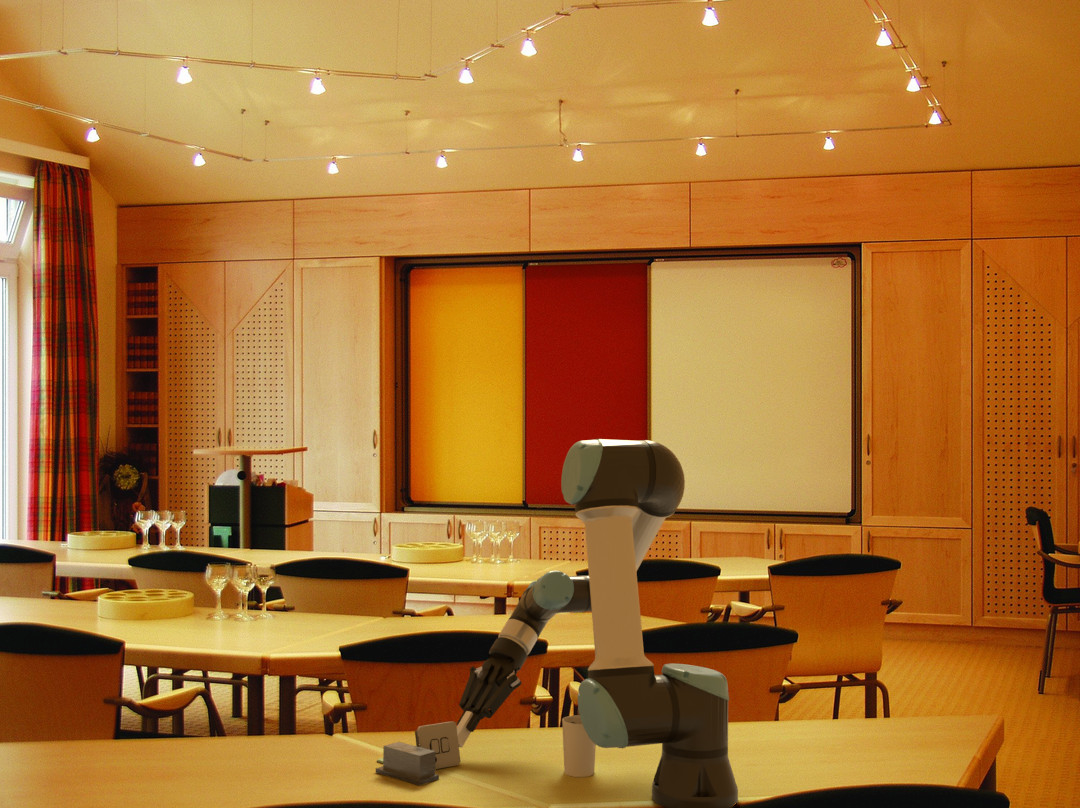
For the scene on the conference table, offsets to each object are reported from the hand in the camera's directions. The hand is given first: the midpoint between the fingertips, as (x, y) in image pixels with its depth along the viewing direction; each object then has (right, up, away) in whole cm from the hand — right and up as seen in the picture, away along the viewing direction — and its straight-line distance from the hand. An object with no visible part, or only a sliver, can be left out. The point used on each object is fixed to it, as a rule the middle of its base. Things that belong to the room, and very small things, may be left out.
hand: (456, 742), depth 214 cm
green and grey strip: (-9, -4, +5) cm, 11 cm away
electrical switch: (-4, -4, -4) cm, 6 cm away
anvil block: (-8, -3, -10) cm, 13 cm away
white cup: (+24, -4, -7) cm, 25 cm away
